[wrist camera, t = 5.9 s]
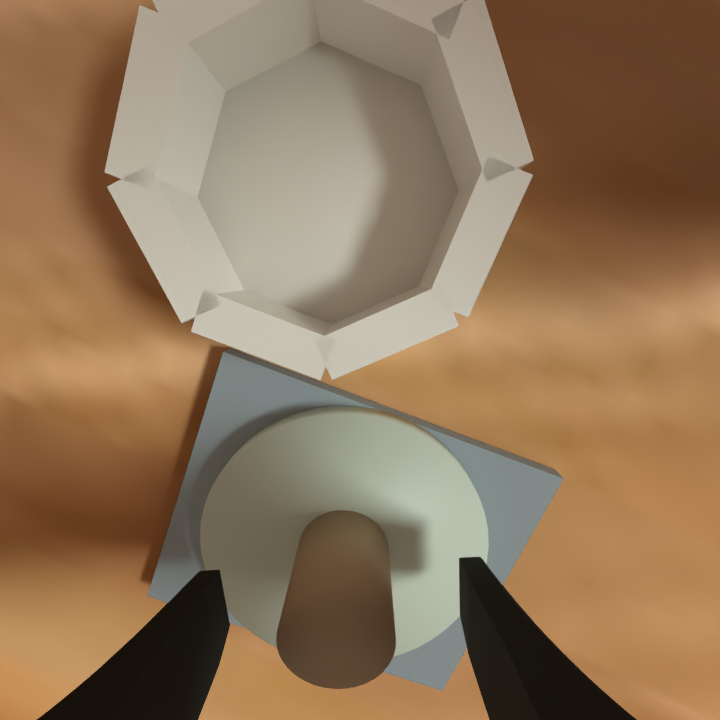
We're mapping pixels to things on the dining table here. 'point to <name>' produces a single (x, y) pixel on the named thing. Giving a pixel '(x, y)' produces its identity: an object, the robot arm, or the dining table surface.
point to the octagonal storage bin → (318, 170)
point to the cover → (342, 539)
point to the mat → (298, 393)
